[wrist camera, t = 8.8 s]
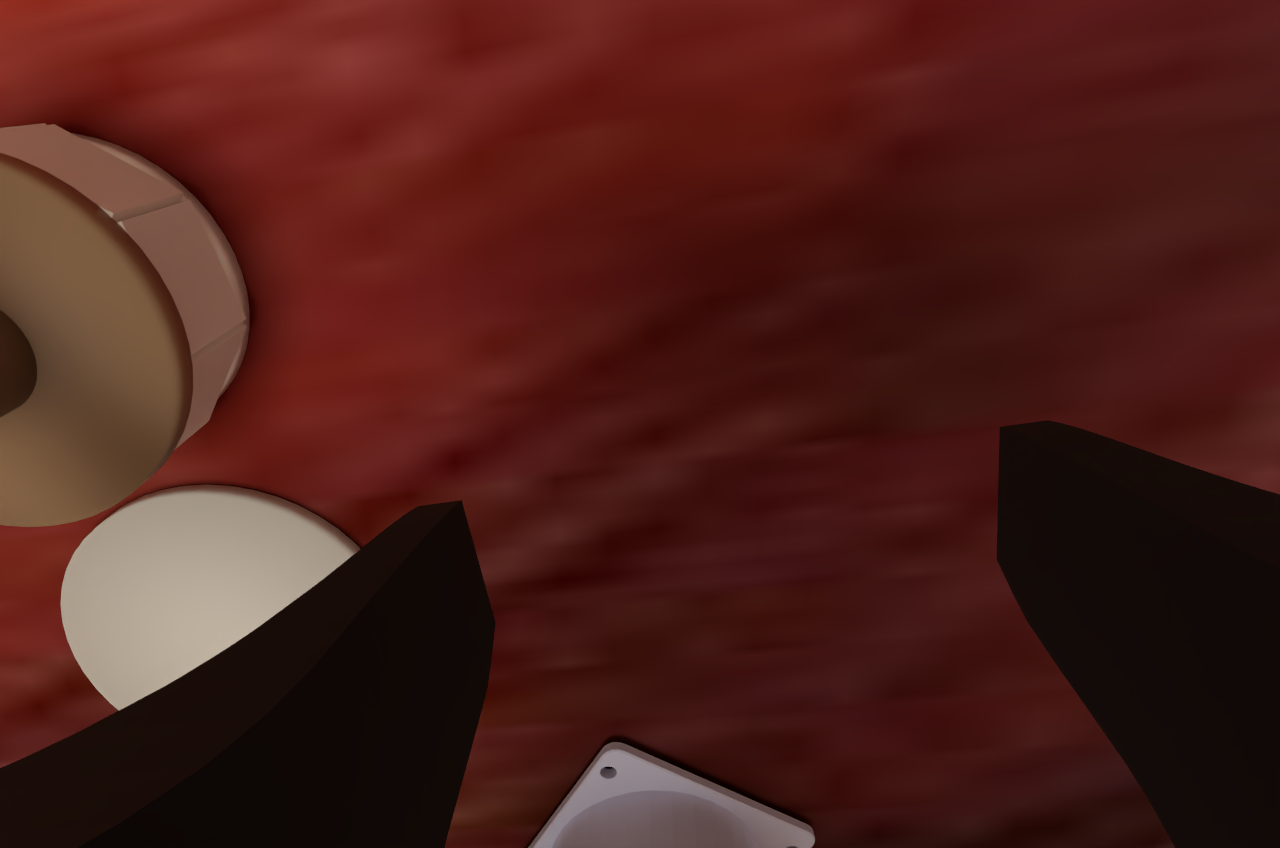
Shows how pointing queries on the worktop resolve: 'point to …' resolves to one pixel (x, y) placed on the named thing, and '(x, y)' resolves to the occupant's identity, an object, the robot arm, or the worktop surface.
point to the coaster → (187, 581)
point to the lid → (80, 355)
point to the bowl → (158, 245)
